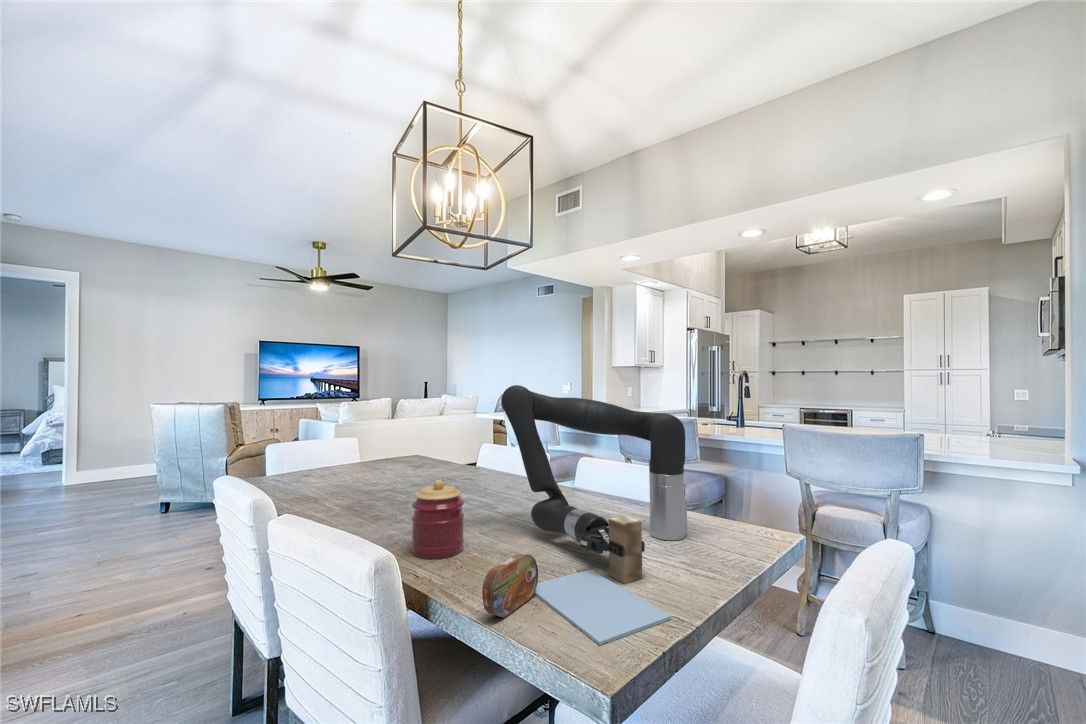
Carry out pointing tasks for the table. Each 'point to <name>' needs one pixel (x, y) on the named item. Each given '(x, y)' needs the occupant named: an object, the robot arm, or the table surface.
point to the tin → (510, 585)
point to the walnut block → (626, 548)
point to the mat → (598, 606)
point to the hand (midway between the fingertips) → (633, 549)
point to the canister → (437, 522)
